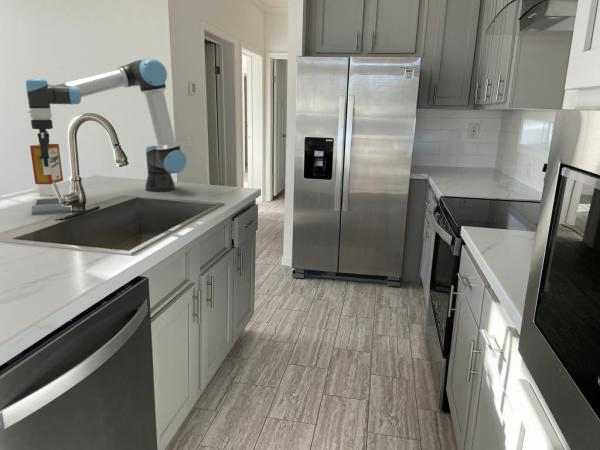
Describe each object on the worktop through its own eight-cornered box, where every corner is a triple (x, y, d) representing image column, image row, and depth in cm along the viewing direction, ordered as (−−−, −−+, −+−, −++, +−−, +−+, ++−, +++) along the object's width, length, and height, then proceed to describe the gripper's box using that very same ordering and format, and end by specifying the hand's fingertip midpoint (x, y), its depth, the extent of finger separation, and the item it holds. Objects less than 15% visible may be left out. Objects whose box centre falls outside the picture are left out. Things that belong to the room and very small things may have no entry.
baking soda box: (51, 184, 184) (46, 145, 179) (35, 184, 184) (29, 144, 179) (63, 180, 193) (58, 143, 189) (48, 180, 193) (43, 142, 189)
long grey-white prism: (39, 196, 216) (32, 150, 210) (42, 193, 222) (35, 149, 216) (53, 195, 218) (47, 150, 212) (56, 193, 224) (49, 148, 218)
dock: (72, 203, 202) (72, 196, 201) (73, 211, 188) (72, 203, 187) (34, 206, 195) (33, 198, 194) (32, 214, 181) (30, 206, 180)
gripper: (32, 117, 190) (39, 168, 196) (28, 120, 170) (36, 177, 175) (52, 118, 193) (59, 168, 199) (50, 120, 173) (57, 176, 179)
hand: (48, 172), depth 187 cm, fingers closed on baking soda box, 11 cm apart
